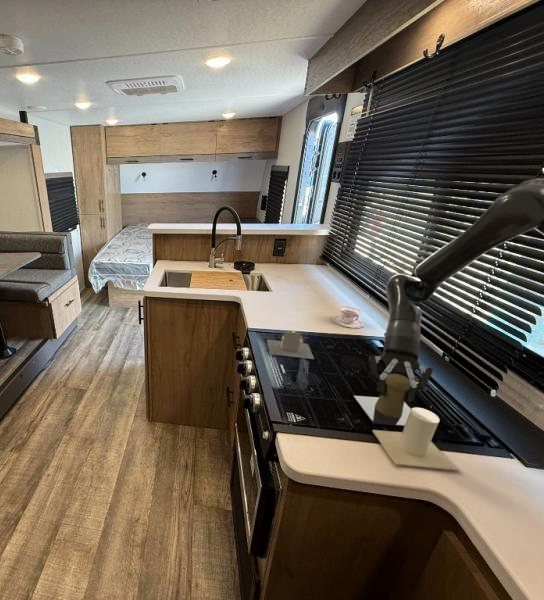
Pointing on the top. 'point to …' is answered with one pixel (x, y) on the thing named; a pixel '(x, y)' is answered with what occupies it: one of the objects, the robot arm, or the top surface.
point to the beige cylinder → (418, 431)
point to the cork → (393, 396)
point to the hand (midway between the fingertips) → (394, 398)
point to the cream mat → (401, 457)
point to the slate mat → (379, 418)
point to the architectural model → (290, 346)
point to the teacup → (349, 317)
